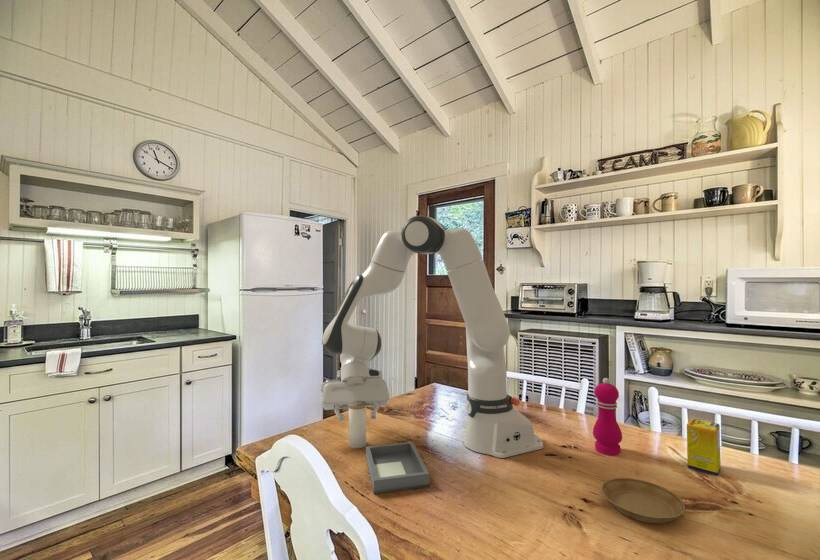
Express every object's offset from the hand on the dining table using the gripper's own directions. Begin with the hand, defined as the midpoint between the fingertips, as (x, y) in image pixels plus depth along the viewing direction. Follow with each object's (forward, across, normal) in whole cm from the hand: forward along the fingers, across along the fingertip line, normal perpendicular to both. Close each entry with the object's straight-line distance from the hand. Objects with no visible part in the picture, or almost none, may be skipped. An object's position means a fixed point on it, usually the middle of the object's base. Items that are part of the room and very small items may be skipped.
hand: (357, 419), depth 111 cm
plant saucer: (+37, +55, -27) cm, 72 cm away
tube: (+5, 0, +5) cm, 7 cm away
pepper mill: (+20, +67, -10) cm, 71 cm away
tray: (+18, +8, -8) cm, 21 cm away
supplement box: (+30, +83, -20) cm, 91 cm away
